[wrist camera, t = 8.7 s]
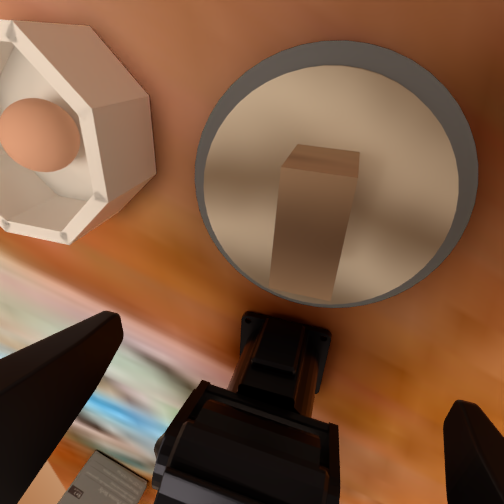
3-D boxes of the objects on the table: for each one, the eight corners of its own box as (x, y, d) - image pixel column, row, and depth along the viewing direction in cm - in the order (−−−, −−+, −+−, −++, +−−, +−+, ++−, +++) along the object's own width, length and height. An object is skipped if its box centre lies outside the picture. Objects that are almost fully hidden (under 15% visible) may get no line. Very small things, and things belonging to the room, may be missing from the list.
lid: (410, 314, 21) (420, 379, 17) (210, 271, 24) (177, 318, 20) (501, 77, 15) (554, 89, 10) (209, 54, 17) (159, 56, 13)
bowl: (160, 219, 24) (117, 255, 20) (28, 195, 26) (-36, 222, 22) (143, 28, 18) (77, 23, 14) (-25, 19, 21) (-124, 12, 16)
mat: (421, 322, 22) (423, 330, 22) (202, 275, 25) (198, 281, 25) (531, 51, 14) (539, 51, 14) (196, 32, 18) (189, 31, 17)
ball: (100, 165, 22) (53, 186, 19) (47, 157, 23) (-7, 176, 20) (88, 97, 20) (32, 107, 17) (30, 91, 21) (-33, 99, 18)
